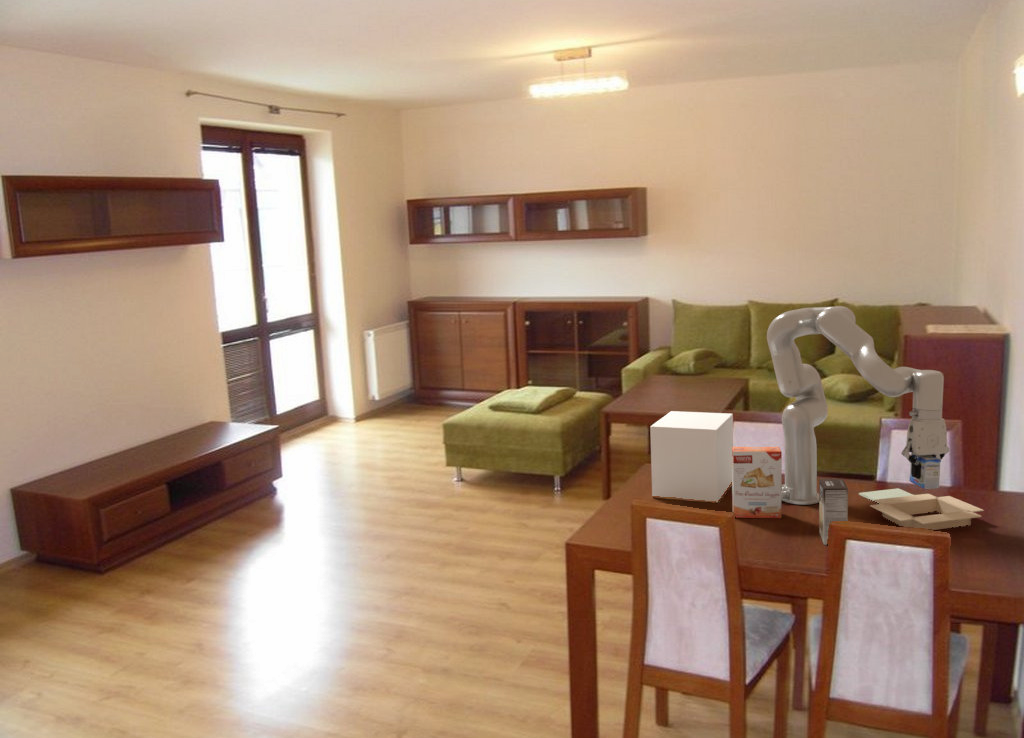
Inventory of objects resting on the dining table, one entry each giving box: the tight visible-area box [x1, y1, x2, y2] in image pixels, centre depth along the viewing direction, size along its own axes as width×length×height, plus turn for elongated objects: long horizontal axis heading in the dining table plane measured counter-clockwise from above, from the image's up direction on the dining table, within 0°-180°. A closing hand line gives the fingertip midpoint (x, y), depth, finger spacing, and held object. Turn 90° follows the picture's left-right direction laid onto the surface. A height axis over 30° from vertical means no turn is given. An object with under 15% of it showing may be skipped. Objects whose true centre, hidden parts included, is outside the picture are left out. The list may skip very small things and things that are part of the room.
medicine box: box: [909, 455, 941, 490], centre depth 239 cm, size 8×4×9 cm, turn 5°
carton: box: [869, 493, 985, 531], centre depth 240 cm, size 26×22×4 cm
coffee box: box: [818, 478, 849, 546], centre depth 229 cm, size 9×6×16 cm
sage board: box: [858, 488, 914, 504], centre depth 262 cm, size 14×14×1 cm
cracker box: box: [731, 446, 783, 519], centre depth 251 cm, size 14×6×21 cm, turn 80°
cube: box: [649, 410, 734, 502], centre depth 280 cm, size 25×21×24 cm
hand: (924, 475), depth 239 cm, fingers closed on medicine box, 4 cm apart
